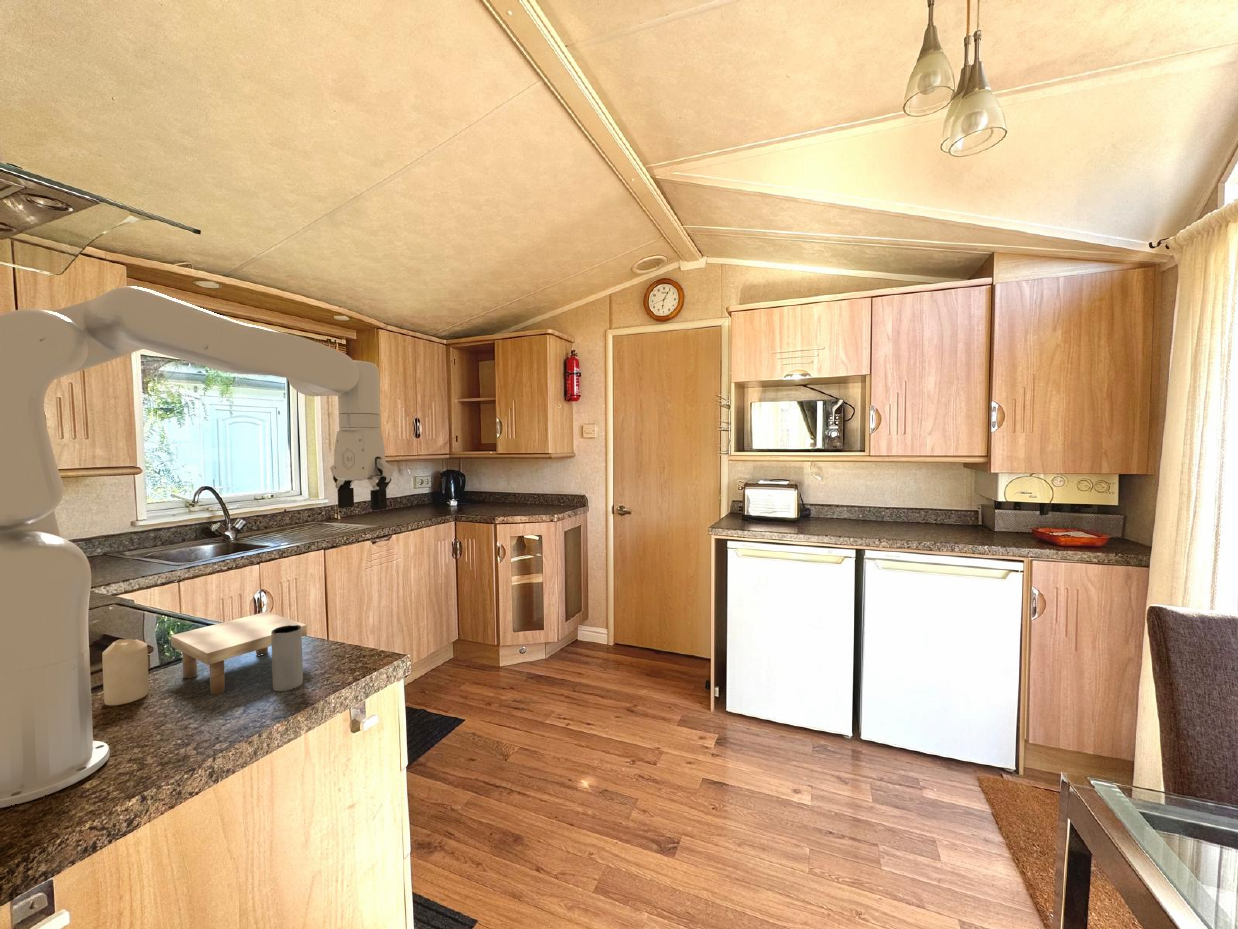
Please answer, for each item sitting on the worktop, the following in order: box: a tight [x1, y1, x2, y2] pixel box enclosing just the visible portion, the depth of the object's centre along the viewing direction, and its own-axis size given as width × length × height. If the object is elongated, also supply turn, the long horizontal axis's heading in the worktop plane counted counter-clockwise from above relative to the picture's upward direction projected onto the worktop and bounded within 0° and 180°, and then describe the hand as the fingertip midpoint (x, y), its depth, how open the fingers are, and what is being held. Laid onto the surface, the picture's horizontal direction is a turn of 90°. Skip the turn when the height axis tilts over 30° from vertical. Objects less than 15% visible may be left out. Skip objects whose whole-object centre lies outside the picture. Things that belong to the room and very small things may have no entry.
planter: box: [271, 625, 304, 692], centre depth 91 cm, size 4×4×10 cm
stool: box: [170, 611, 308, 696], centre depth 97 cm, size 16×16×8 cm
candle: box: [101, 638, 150, 706], centre depth 87 cm, size 6×6×10 cm
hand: (362, 508), depth 102 cm, fingers open, 9 cm apart
